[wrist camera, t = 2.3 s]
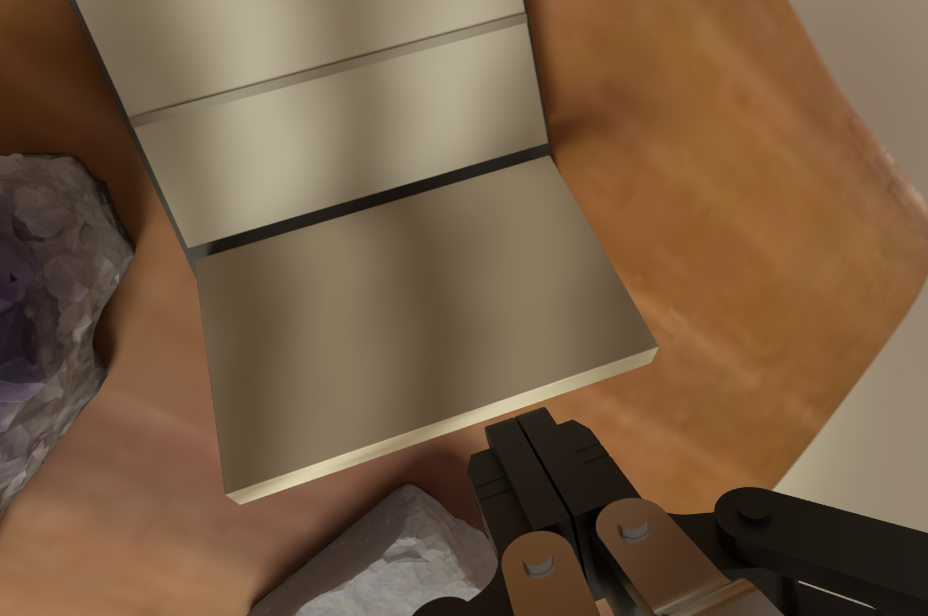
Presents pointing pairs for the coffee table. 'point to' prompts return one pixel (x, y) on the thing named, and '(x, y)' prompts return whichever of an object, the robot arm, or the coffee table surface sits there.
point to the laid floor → (314, 104)
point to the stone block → (388, 563)
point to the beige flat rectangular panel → (407, 325)
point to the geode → (51, 302)
